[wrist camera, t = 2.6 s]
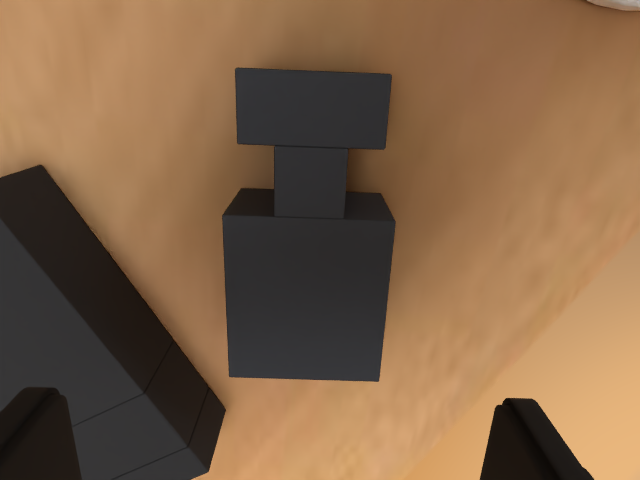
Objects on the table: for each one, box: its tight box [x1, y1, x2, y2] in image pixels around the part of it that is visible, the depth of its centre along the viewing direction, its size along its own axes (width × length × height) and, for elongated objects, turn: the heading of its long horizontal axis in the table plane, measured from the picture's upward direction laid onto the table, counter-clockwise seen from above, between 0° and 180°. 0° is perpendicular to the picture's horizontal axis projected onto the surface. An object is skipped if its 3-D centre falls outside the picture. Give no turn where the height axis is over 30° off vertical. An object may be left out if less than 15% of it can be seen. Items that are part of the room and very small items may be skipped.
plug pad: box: [222, 68, 396, 382], centre depth 18 cm, size 6×12×4 cm, turn 178°
